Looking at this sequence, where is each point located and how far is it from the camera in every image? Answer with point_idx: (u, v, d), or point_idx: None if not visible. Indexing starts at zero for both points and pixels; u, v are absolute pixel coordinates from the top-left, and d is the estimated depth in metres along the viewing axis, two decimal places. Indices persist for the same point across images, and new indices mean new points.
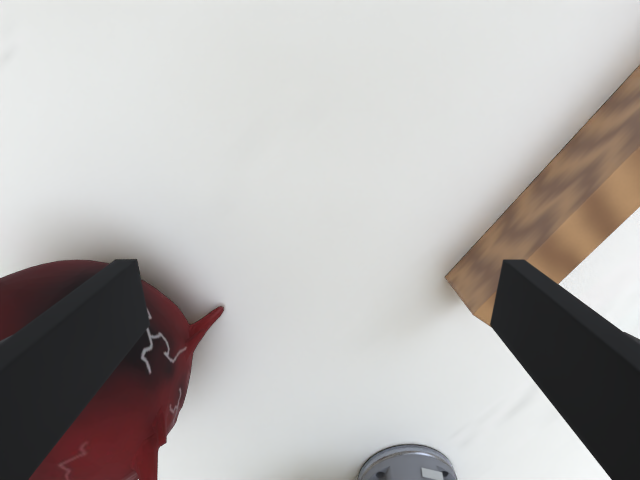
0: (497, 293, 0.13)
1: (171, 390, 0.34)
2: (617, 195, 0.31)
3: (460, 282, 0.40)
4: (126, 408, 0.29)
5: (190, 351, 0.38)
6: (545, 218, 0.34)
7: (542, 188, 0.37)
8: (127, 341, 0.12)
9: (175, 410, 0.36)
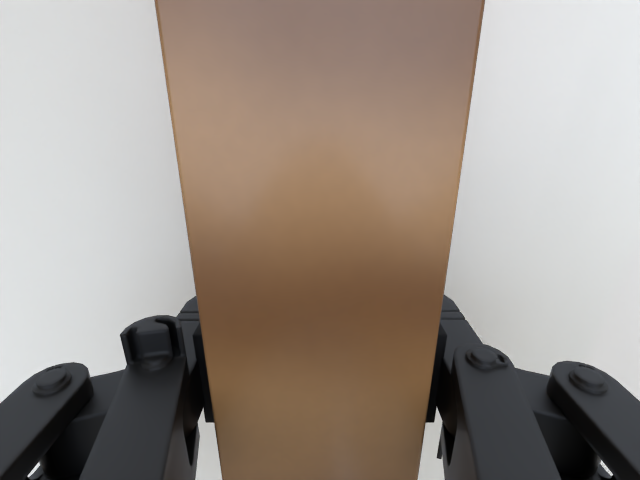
0: None
1: None
2: None
3: None
4: None
5: None
6: None
7: None
8: None
9: None
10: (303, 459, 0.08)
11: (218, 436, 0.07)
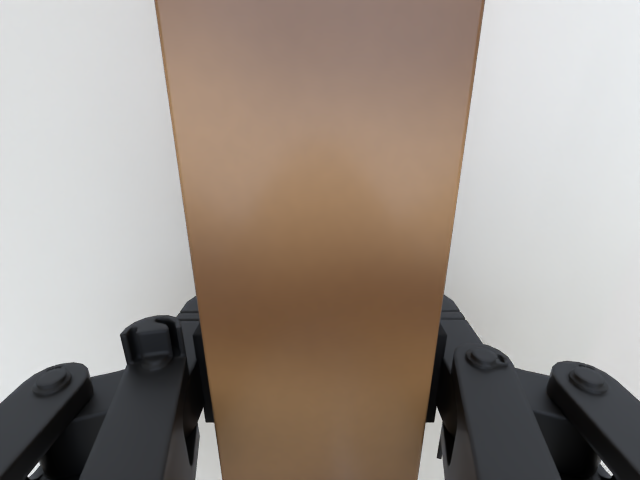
0: None
1: None
2: None
3: None
4: None
5: None
6: None
7: None
8: None
9: None
10: (303, 459, 0.08)
11: (218, 436, 0.07)
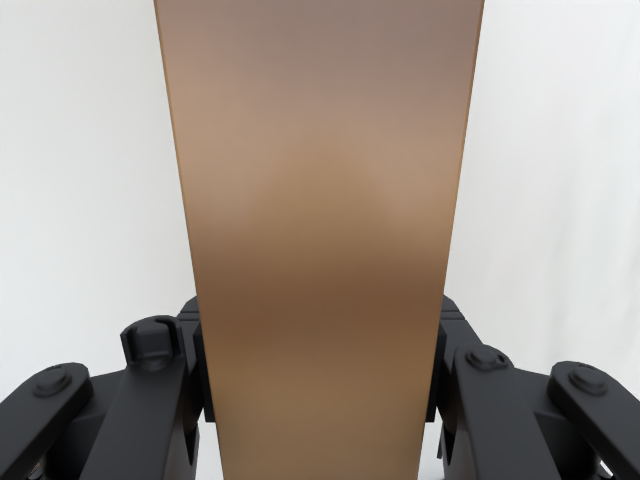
0: None
1: None
2: None
3: None
4: None
5: None
6: None
7: None
8: None
9: None
10: (304, 457, 0.08)
11: (219, 435, 0.07)
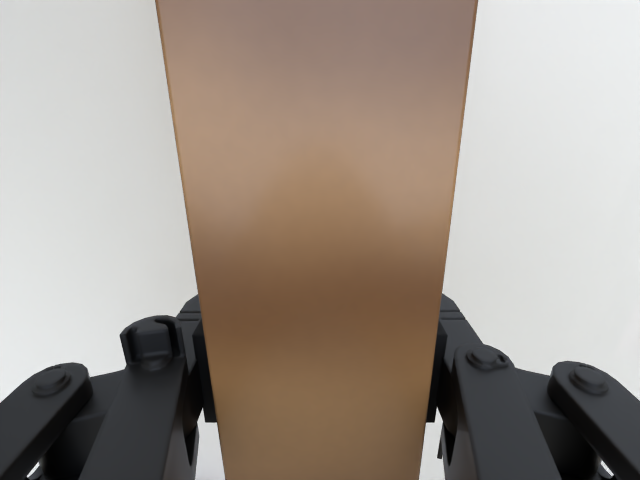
0: None
1: None
2: None
3: None
4: None
5: None
6: None
7: None
8: None
9: None
10: (305, 457, 0.08)
11: (220, 434, 0.07)
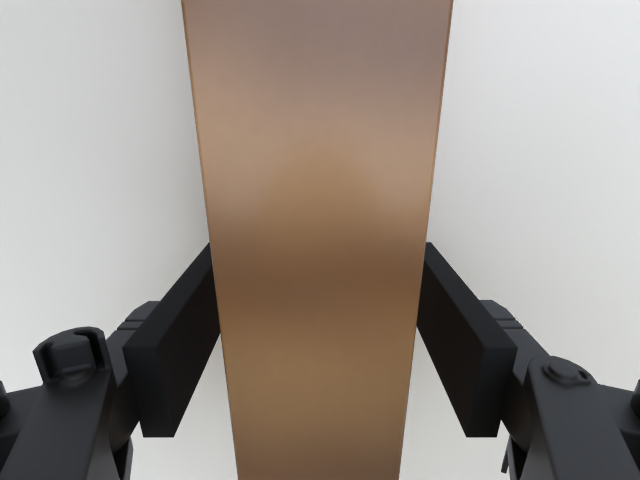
0: None
1: None
2: None
3: None
4: None
5: None
6: None
7: None
8: None
9: None
10: (304, 416, 0.09)
11: (230, 394, 0.09)
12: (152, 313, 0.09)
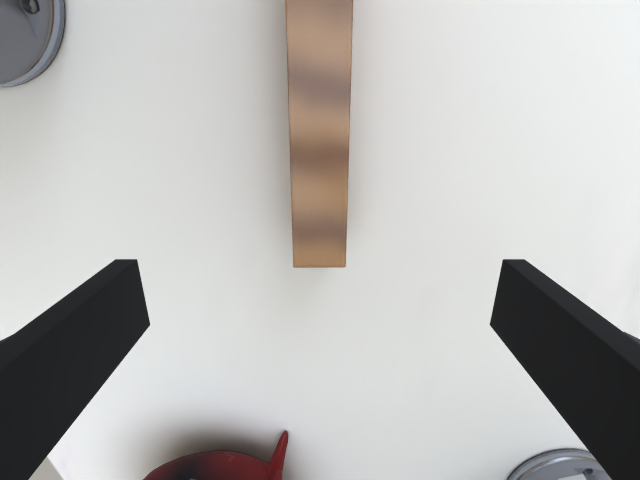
0: (497, 293, 0.13)
1: None
2: (315, 52, 0.24)
3: None
4: None
5: None
6: None
7: None
8: (127, 341, 0.12)
9: None
10: (314, 205, 0.28)
11: (292, 197, 0.28)
12: None
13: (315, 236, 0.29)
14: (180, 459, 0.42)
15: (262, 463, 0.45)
